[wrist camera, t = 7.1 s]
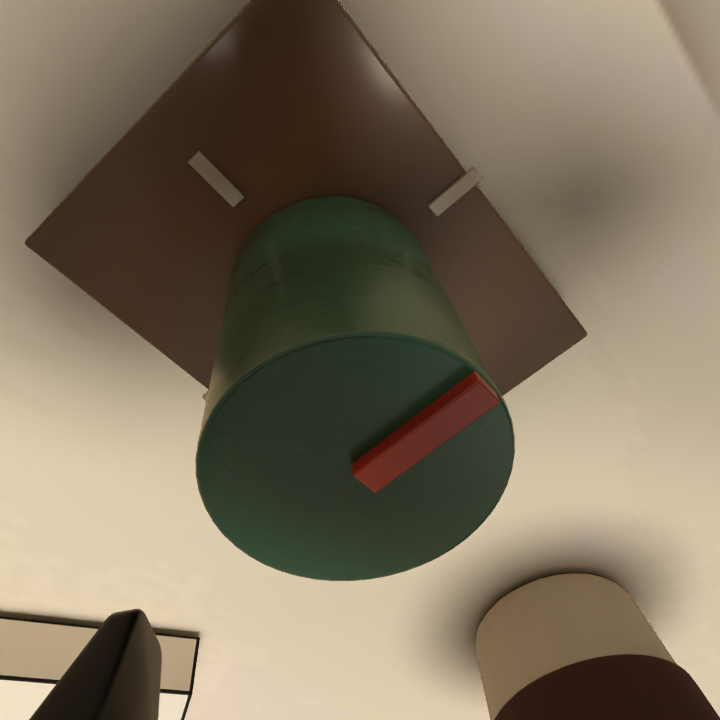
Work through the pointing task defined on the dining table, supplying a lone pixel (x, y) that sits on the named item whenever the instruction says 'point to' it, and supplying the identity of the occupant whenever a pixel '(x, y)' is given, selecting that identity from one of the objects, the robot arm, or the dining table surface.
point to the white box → (59, 650)
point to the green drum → (347, 401)
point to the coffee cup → (580, 657)
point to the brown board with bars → (289, 192)
